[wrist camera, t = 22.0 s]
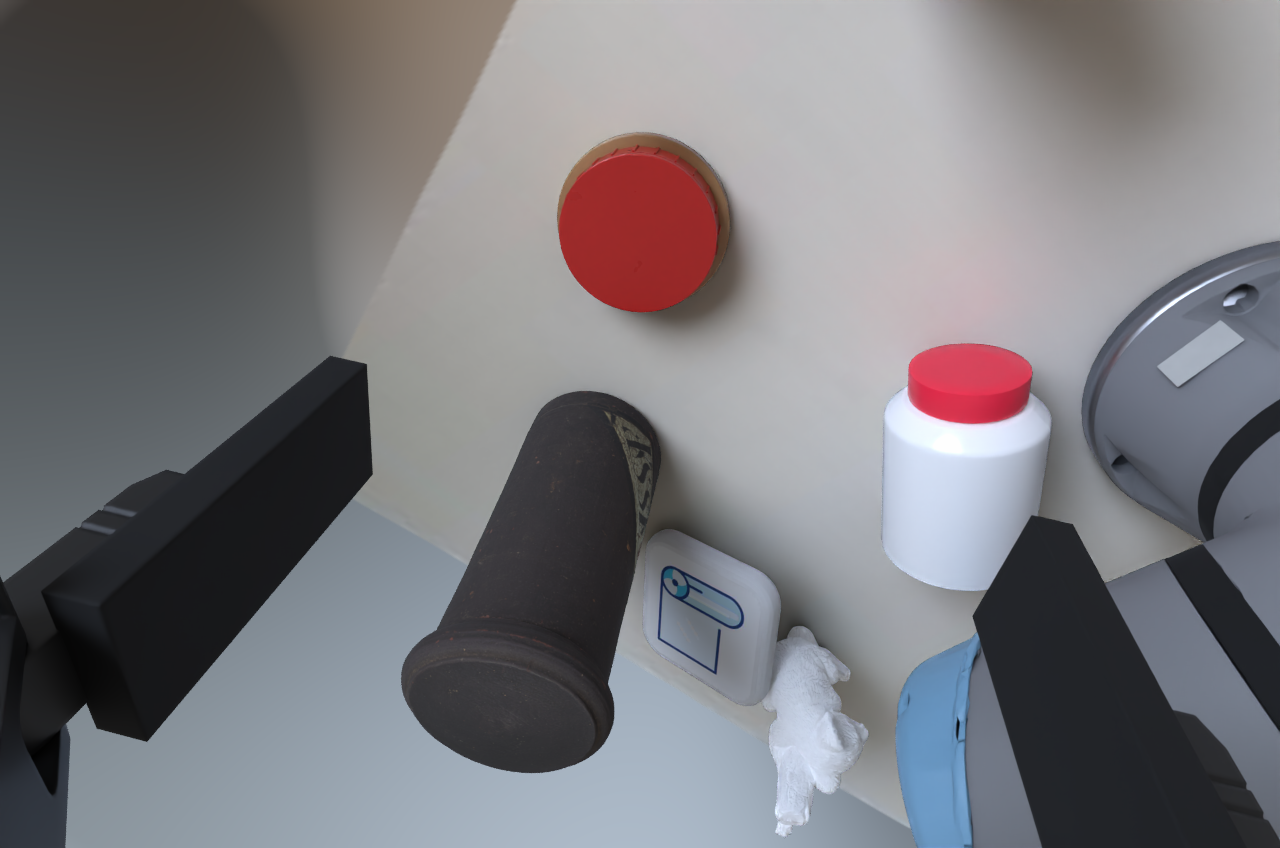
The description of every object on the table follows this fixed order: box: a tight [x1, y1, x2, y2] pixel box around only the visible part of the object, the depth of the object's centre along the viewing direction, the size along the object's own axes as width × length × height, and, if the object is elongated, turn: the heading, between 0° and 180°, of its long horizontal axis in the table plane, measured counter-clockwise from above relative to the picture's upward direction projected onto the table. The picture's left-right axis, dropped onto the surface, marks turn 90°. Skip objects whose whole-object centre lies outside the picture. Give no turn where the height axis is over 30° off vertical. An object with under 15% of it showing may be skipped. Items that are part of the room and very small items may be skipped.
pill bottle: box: [881, 344, 1052, 591], centre depth 38 cm, size 8×8×11 cm
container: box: [401, 391, 661, 773], centre depth 37 cm, size 9×9×20 cm
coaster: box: [557, 132, 730, 299], centre depth 37 cm, size 9×9×1 cm
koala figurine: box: [761, 626, 869, 837], centre depth 47 cm, size 8×7×12 cm
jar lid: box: [559, 145, 721, 312], centre depth 36 cm, size 8×8×2 cm
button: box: [643, 529, 781, 706], centre depth 47 cm, size 10×2×10 cm
